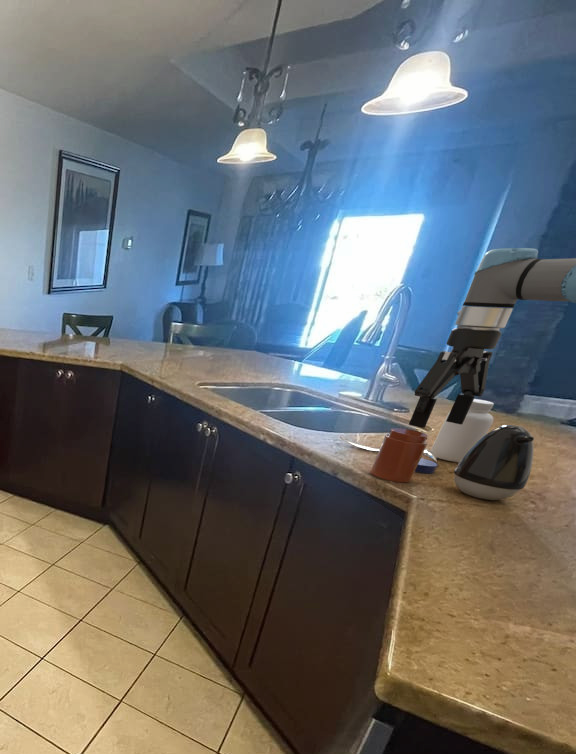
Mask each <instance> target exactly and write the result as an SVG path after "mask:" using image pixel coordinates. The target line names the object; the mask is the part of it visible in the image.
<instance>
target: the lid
mask: <svg viewBox="0 0 576 754" xmlns="http://www.w3.org/2000/svg"><path fill="white" fill-rule="evenodd" d="M437 467H438V463H436V462H435V461H434V460H430V459H427V458H424V457H421V459H420V461H419V463H418V465H417V468H416V470H415V472H414V473H420V474H434V473H435V472H436V470H437Z"/></svg>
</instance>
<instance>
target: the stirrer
mask: <svg viewBox="0 0 576 754" xmlns="http://www.w3.org/2000/svg"><path fill="white" fill-rule="evenodd" d="M339 439H341V440H342V441H344V442H345V443H347V444H349V445H351V446H354V447H356V448H359V449H361V450H365V451H370V452H379V450H380V448H375V447H370V446H367V445H364V444H362V443H359V442H357V441H355V440H352V439H350V438H347V437H346V436H340V438H339ZM422 456H424V457H428V458H430V459H431V460H432V461H433V462H435V463H437V464H438V463H439V462H438V458H437V457H436V456H435V454H434V453H433V452H432V451H431V449H429V448H427V447H426V448H425V450H424V452H423V455H422Z"/></svg>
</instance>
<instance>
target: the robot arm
mask: <svg viewBox="0 0 576 754" xmlns="http://www.w3.org/2000/svg"><path fill="white" fill-rule="evenodd" d="M538 255H539V250H538V249H537V248H531V247H530V248H529V247H517V248H511V247H509V248H508V247H507V248H494V249H491V250H489V251H487V252H485V253H484V255H483V257H482V259H481V261H480V263H479V265H478V267H477V269H476V271H474V274H473V275H474V276H473V278H472V281H471V284H470V286H469V289H468V291H467V294H466V296H465V299H464V301H463V303H462V306H461V308H460V310H458V312H456V315H457V318H456V320H455V323H454V325H455V326H456V327H455V328H454V327H453V329H451V331H450V333H449V336H448V338H447V341H446V345H447V346H448V347H453V348H452V350H450V351H446V350H442V351H441V352H440V353H439V355H438V356H437V359H436V361H435V362H434V364H433V365H432V367H431V368H430V369H429V371H428V372H427V373H426V375H425V377H423V379H422V380H421V382H420V383H419V384H418V386H417V387H416V389H415V391H414V396H415V397H419V398H418V400H417V404H416V406H415V408H414V411H413V413H412V415H411V417H410V418H411V419H410V420H409V423H408V425H409V426H413V427H417V428H421V429H424V428H426V427H427V423H428V422H429V418H430V417H431V415H432V413H433V410H434V407H435V405H436V403H437V400H438V399H437V398H436V397H437V396H438V395H439V394H440V393H441V391H442V390H443V389H444V388H445V387H446V386H447V385H448V384H449V383H450V382H451V381H452V380H453V378H454V377H456V376H459V378H460V379H459V380H460V389H461V390H460V391H461V393H457V396H456V398H455V400H454V401H453V402H454V403H453V405H452V407H451V409H450V411H449V412H450V414H449V416H448V418H447V420H446V422H451V423H456V424H463V422H464V420H465V417H466V415H467V413H468V411H469V409H470V406H471V404H472V402H473V400H474V399H476V397H478V398H480V397H482V396H483V395H484V393H485V390H486V385H487V379H488V373H489V365H490V362H491V358H492V356H493V351H486V350H493V349H495V348H496V347H497V344H498V342H499V340H500V338H501V336H502V334H503V333H502V331H501V330H500V329H504V328H506V326H507V324H508V321H509V319H510V317H511V315H512V312H513V311H514V307H515V305H516V303H517V301H518V300H520V301H543V302H567V303H568V302H570V303H575V304H576V257H575V258H570V257H569V258H539V257H538Z"/></svg>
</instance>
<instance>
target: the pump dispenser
mask: <svg viewBox="0 0 576 754" xmlns="http://www.w3.org/2000/svg"><path fill="white" fill-rule="evenodd" d="M534 440H535V438H534V436H532V434H531V433H530V432H529V430H527V429H526V428H524V427H523V426H520V425H516V424H506V425H505V424H504V425H501V426H498V427H495V428H494V429H492V430H490V431H488V432H487V434H486V435H485V436H484V437H482V438H481V439H480V440H479V441H478V442H477V443H476V444H475V445H474V446H473V447H472V448H471V449H470V450H469V451H468V452H467V453H466V454H465V456H464V457H463V458H462V459H461V461H460V462H459V463H457V465H456V466H455V468H454V470H453V474H454V476H453V477H454V478H453V479H454V484H455V486H456V487H457V489H458V490H460V491H461V492H462V493H463V494H465V495H467V496H469V497H473V498H476V499H481V500H487V501H488V500H489V501H500V500H505V499H508V498H511V497H513V496H514V495H516V494H517V493H518V492H519V491H520V490H523V489H524V488H525V487H526V486H527V484H528V481H529V478H530V475H531V471H532V467H533V462H534V461H533V460H534V450H535V449H534V448H535V447H534Z"/></svg>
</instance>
